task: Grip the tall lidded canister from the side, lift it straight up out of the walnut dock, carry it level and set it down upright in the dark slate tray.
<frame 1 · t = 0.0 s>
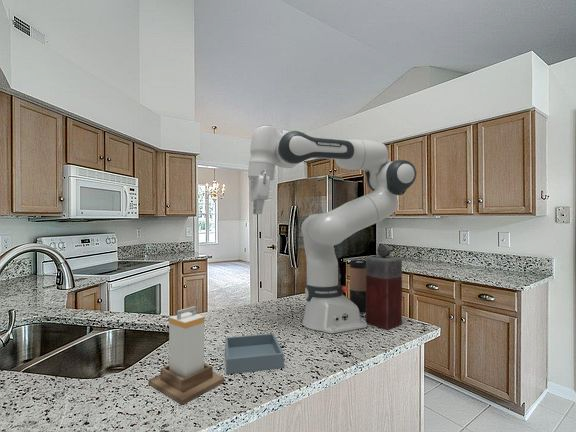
hand: (257, 214, 104), 39 cm above the worktop, tool pointing down, fingers open, 8 cm apart
red square storage jar: (385, 323, 110), on the worktop
dock: (186, 383, 70), on the worktop
tall lidded canister: (186, 378, 70), point 1 cm above the worktop, touching dock
travel mug: (359, 310, 125), on the worktop
tray: (252, 358, 83), on the worktop
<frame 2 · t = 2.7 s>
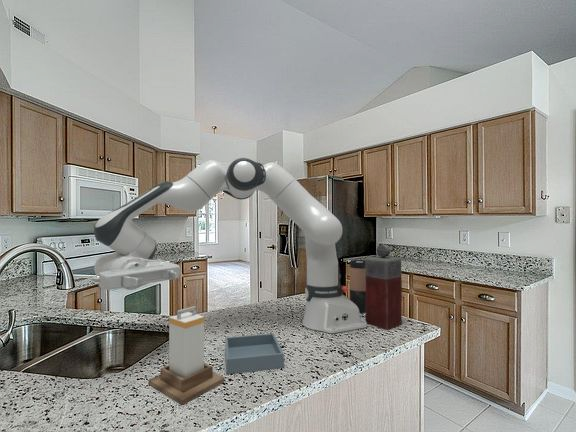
hand: (157, 279, 78), 22 cm above the worktop, tool horizontal, fingers open, 8 cm apart
nothing on the worktop moved.
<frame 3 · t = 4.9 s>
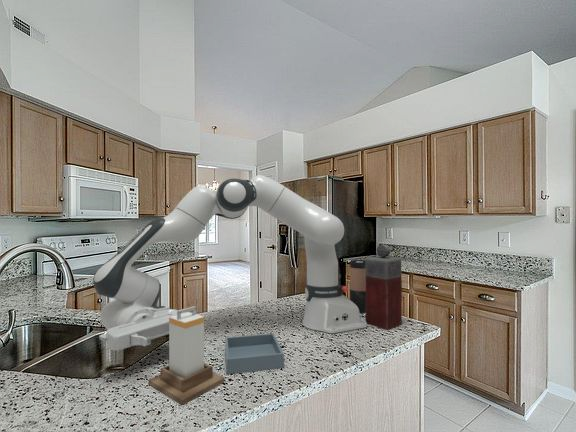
hand: (166, 335, 75), 9 cm above the worktop, tool horizontal, fingers open, 8 cm apart
nothing on the worktop moved.
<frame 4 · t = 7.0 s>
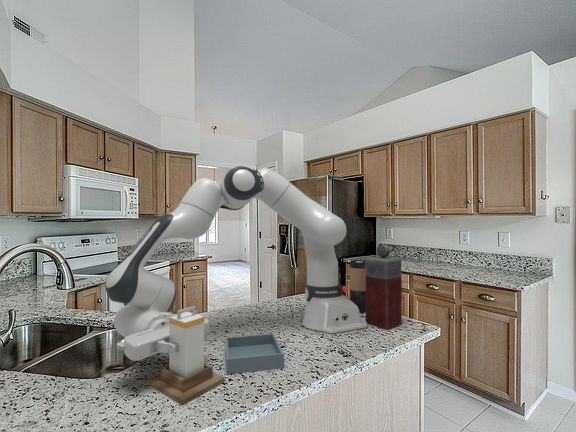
hand: (189, 344, 70), 9 cm above the worktop, tool horizontal, fingers closed on tall lidded canister, 5 cm apart
tall lidded canister: (186, 378, 70), point 1 cm above the worktop, touching dock, gripper
everything else where it was.
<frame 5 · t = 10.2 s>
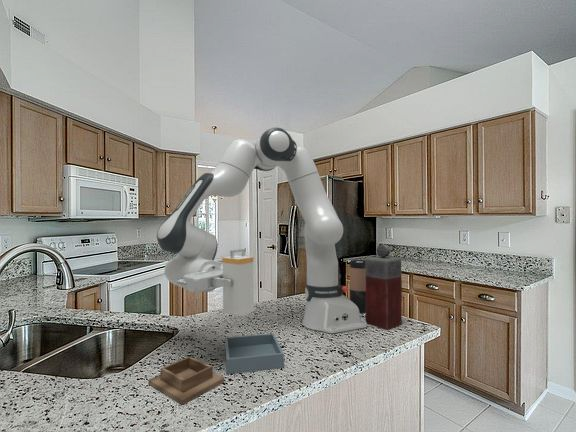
hand: (240, 280, 79), 21 cm above the worktop, tool horizontal, fingers closed on tall lidded canister, 5 cm apart
tall lidded canister: (238, 311, 79), point 13 cm above the worktop, touching gripper
everything else where it was.
when the fingers open (10 cm above the worktop, at t = 13.4 s): tall lidded canister drops 1 cm, resting on tray.
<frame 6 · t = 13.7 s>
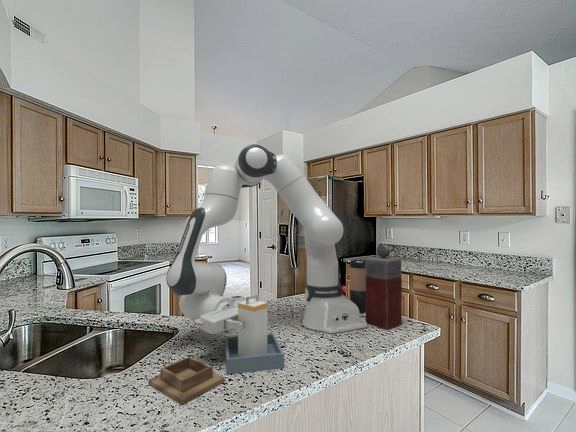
hand: (255, 321, 82), 10 cm above the worktop, tool horizontal, fingers open, 7 cm apart
tall lidded canister: (252, 355, 83), point 1 cm above the worktop, touching tray
everything else where it was.
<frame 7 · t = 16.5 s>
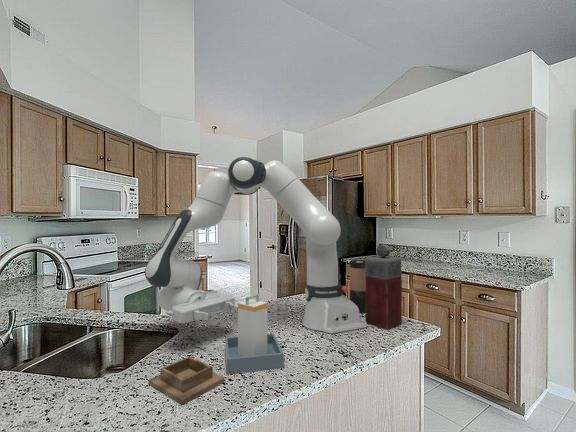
hand: (222, 312, 90), 10 cm above the worktop, tool horizontal, fingers open, 8 cm apart
nothing on the worktop moved.
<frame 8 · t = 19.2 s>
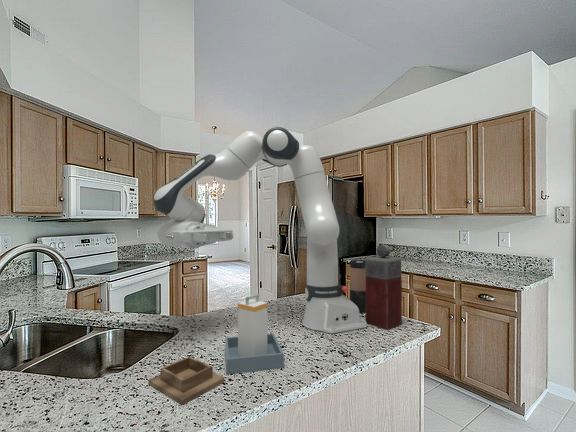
hand: (220, 236, 93), 32 cm above the worktop, tool horizontal, fingers open, 8 cm apart
nothing on the worktop moved.
at the end: tall lidded canister inside the target area on the tray (0.1 cm from its centre), point 0.8 cm above the tray's base; tall lidded canister tilted 0°; the gripper is holding nothing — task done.
